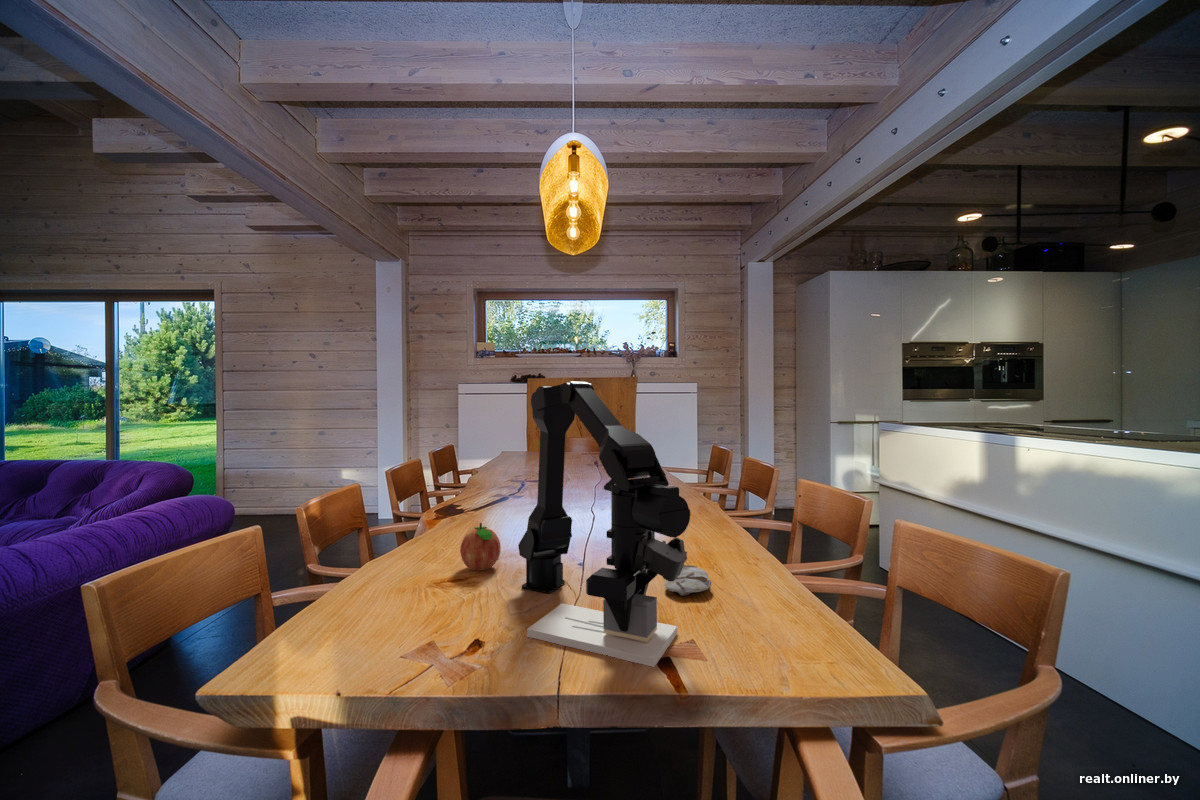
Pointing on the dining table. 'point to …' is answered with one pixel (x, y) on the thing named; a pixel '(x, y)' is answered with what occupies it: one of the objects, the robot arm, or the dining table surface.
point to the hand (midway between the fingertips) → (630, 624)
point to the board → (599, 635)
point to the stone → (689, 581)
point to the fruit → (480, 548)
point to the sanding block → (634, 619)
